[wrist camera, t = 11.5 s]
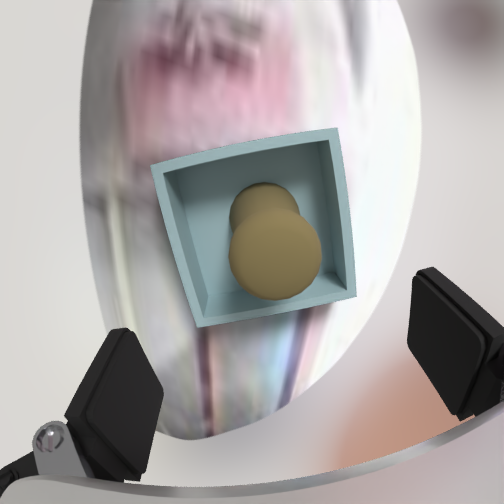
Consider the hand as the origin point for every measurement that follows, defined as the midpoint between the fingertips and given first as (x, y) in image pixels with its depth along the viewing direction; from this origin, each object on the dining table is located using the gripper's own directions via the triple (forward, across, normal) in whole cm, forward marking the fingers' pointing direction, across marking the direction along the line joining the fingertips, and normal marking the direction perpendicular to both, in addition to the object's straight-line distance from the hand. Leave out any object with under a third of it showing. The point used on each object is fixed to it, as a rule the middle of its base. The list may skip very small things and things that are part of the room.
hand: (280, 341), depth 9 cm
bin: (+18, 0, +1) cm, 18 cm away
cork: (+18, -1, +1) cm, 18 cm away
